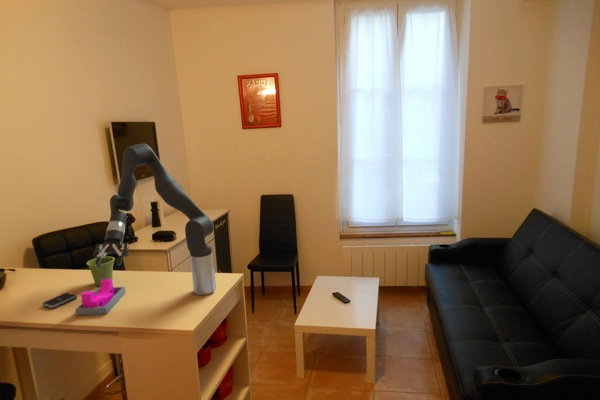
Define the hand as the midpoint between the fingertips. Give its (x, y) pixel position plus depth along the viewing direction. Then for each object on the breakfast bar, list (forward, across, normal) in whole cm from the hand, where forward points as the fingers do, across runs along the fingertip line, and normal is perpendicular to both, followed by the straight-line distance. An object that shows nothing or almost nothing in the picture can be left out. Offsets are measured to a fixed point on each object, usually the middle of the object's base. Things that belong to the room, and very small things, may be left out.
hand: (108, 265), depth 172 cm
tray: (+16, 0, +2) cm, 16 cm away
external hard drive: (+14, -19, +5) cm, 24 cm away
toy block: (+16, 0, +2) cm, 16 cm away
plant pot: (0, -9, +18) cm, 20 cm away
